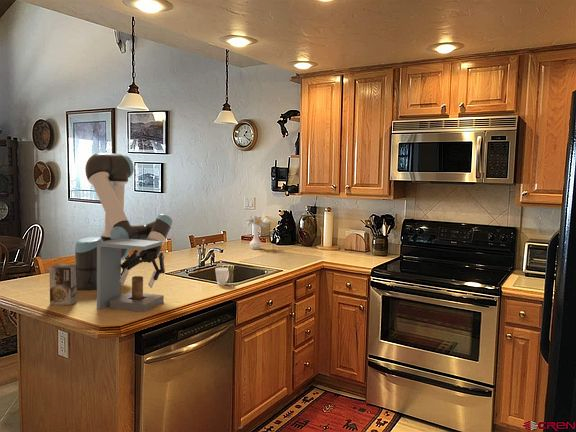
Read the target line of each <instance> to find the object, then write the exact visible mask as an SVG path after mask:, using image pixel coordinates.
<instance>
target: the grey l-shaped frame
mask: <svg viewBox="0 0 576 432" xmlns="http://www.w3.org/2000/svg"><path fill="white" fill-rule="evenodd" d="M160 245H162V241H149V240H137V239H124V238H116V239H112V240H107V241H102V242H98V243H97V289H96V309H97V310H101V309H104V308H106V307H108V306H109V307H110V301H111V300H113V299H115V298H118V297H120V296H122V289H121V287H122V286H121V285H122V284H121V283H120V282H119V280H120V278H121V273H122V268H121V266H120V265H121V264H122V260H121V248H123V249H130V250H134V251H135V250H137V251H142V250H147V249H150V248H153V247H157V246H160Z"/></svg>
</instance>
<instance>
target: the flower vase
mask: <svg viewBox="0 0 576 432" xmlns="http://www.w3.org/2000/svg"><path fill="white" fill-rule="evenodd" d="M246 223H247V224H246V225H247V226H251V225H253V229H254V230H253V238H252V240H251V241H250V242H249V246H250V248H251V249H252V250H260V248H261V247H262V246H263V244H262V242H261V240H260V238H259V227H262V228H263V227H264V228H265V229H266V228H267V224H269V221H268V220H267V217H266V218H265V219H264V220H262V216H259V217H258V216H256V215H255V216H254V217H252V216H250V217H249V219H247V220H246Z"/></svg>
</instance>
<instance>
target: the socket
mask: <svg viewBox="0 0 576 432" xmlns="http://www.w3.org/2000/svg"><path fill="white" fill-rule="evenodd" d="M164 297H165V295H164V294H155V293H147V292H143V299H142V300H132V291H130V292H127V293H125V294H121V296H120V297H118V298H115V299H113V300H111V301H110V305H109V308H110V309H113V310H114V309H116V310H122V311H123V310H125V311H133V312H134V311H135V312H140V313H141V312H143V313H145V312H147V311H150V310H151V309H153V308H154V307H155V308H156V307H157V306H158V305H159V306H160V305H161V304H162V303H164V302H165V301H164Z"/></svg>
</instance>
